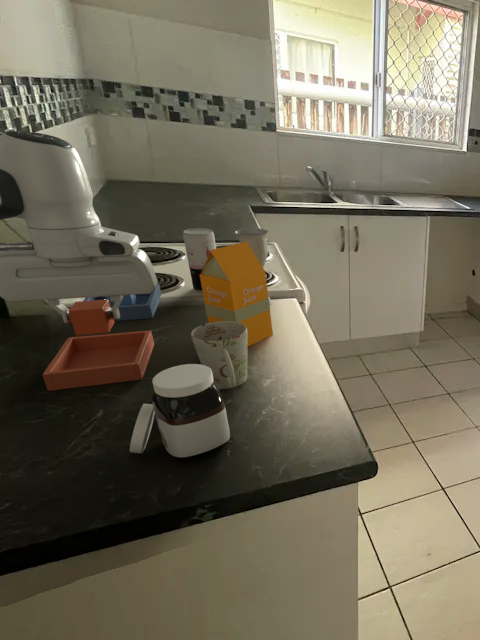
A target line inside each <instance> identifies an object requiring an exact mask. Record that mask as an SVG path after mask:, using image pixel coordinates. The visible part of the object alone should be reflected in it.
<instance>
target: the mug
mask: <svg viewBox="0 0 480 640" xmlns="http://www.w3.org/2000/svg"><path fill="white" fill-rule="evenodd" d="M190 338H191V341H192V343H193V345H194V346H193V347H194V349H195V351H196V355H197V357H198V360H199V362H200V365H205V366H207V367H209V368H210V369H211V370H212V374H213V382H214V383H215V384H216V386H217V387H218V389H219V390H227V389H233V388H237V387H239V386H242V385H243V384H244V383H245V382H246V381H247V380H248V347H247V327H246V326H245V325H244V324H242V323H240V322H235V321H218V322H211V323H208V322H207V323H204V324H201V325H199V326H196V327H195V328H193V329H192V330H191V333H190Z"/></svg>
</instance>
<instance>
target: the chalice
mask: <svg viewBox="0 0 480 640" xmlns="http://www.w3.org/2000/svg"><path fill="white" fill-rule="evenodd" d="M235 234H236V235H237V237H238V241H239V242H238V244H239V243H243V242H247V243H248V245H249V246H250V248H251V249H252V251H253V253H254V254H255V256H256V257H257V259H258V261H259V262H260V264H261V265H262V267H263V268H264V266H265V264H266V262H267V260H268V259H267V258H268V255H269V248H268V239H267V238H268V237H267V236H268V234H269V230H267V229H264V228H257V227H256V228H255V227H249V228H248V227H247V228H241V229H238V230H236V231H235ZM268 298H269V304H270V306H271V305H272V304H273V301H272V299H271V298H270V296H269V295H268Z"/></svg>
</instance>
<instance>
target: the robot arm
mask: <svg viewBox="0 0 480 640" xmlns="http://www.w3.org/2000/svg"><path fill="white" fill-rule="evenodd" d="M93 198H94V194H93V190H92V187H91V183H90V180H89V177H88V174H87V171H86V169H85V166H84V163H83V161H82V158H81V156H80V155H79V153H78V151H77V150H76V148H75V147H74V146H73V145H72V144H71V143H69V142H68V141H66V140H65V139H62V138H60V137H57V136H53V135H51V134H46V133H40V132H34V131H33V132H31V131H25V130H11V131H6V132H4V133H3V132H2V131H0V221H2V220H6V219H7V220H8V219H13V218H17V219H21V220H22V221H24V224H25V226H26V229H27V231H28V235H29V238H30V240H31V241H27V242H25V241H23V242H10V243H8V242H0V298H1V299H3V300H5V301H7V302H9V303H17V302H18V303H20V302H33V301H34V302H35V301H47V302H48V306H49V307H50V308H51V309H53V310H54V311H55V312H56V313H58V314H60V315H61V317H62V320H63V323H64V324H72V321H71V318H70V315H69V312H68V311H69V310H70V308H68V307H67V306H66V305H64V303H63V301H64V300H67V299H68V300H69V299H83V298H84V299H85V298H87V297H103V296H109V297H110V300H111V301H112V302H113V301H115V303H114V306H113V307H109V308H107V310H106V314H107V317H108V320H112V319H119V318H120V313H119V309H118V307H119V305H120V303H121V301H122V299H123V295H136V294H150V293H152V292H153V291H154V290H155V289H156V287H157V284H158V279H157V275H156V271H155V269H154V266H153V263H152V261H151V259H150V257H149V256H148V254H147V253H146V252H145V250H142V249H141V248H140V245H141V243H140V238H139V236H138V235H137V234H135V233H131V232H126V231H122V230H117V229H113V228H109V227H105V226H102V224H101V220H100V217H99V216H98V214H97V213H96V211H95V209H94V205H93V200H94V199H93Z"/></svg>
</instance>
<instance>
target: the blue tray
mask: <svg viewBox="0 0 480 640" xmlns="http://www.w3.org/2000/svg"><path fill="white" fill-rule="evenodd" d="M161 295H162V291H161V287H160V283H157V287H156V289H155V290H154V291H153V292H152V293H150V294H136V298H137V304H136V305H127V306H119V307H118V309H119V313H120V318H119V319H114V322H118V321H133V320H144V319H153V318H154V316H155V314H156V312H157V309H158V306H159V304H160V301H161V299H160V296H161ZM161 297H162V296H161ZM104 299H106V298H105V296H103V297H87V298H84V299H83V301H94V300H104ZM112 307H113V306H112Z"/></svg>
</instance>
